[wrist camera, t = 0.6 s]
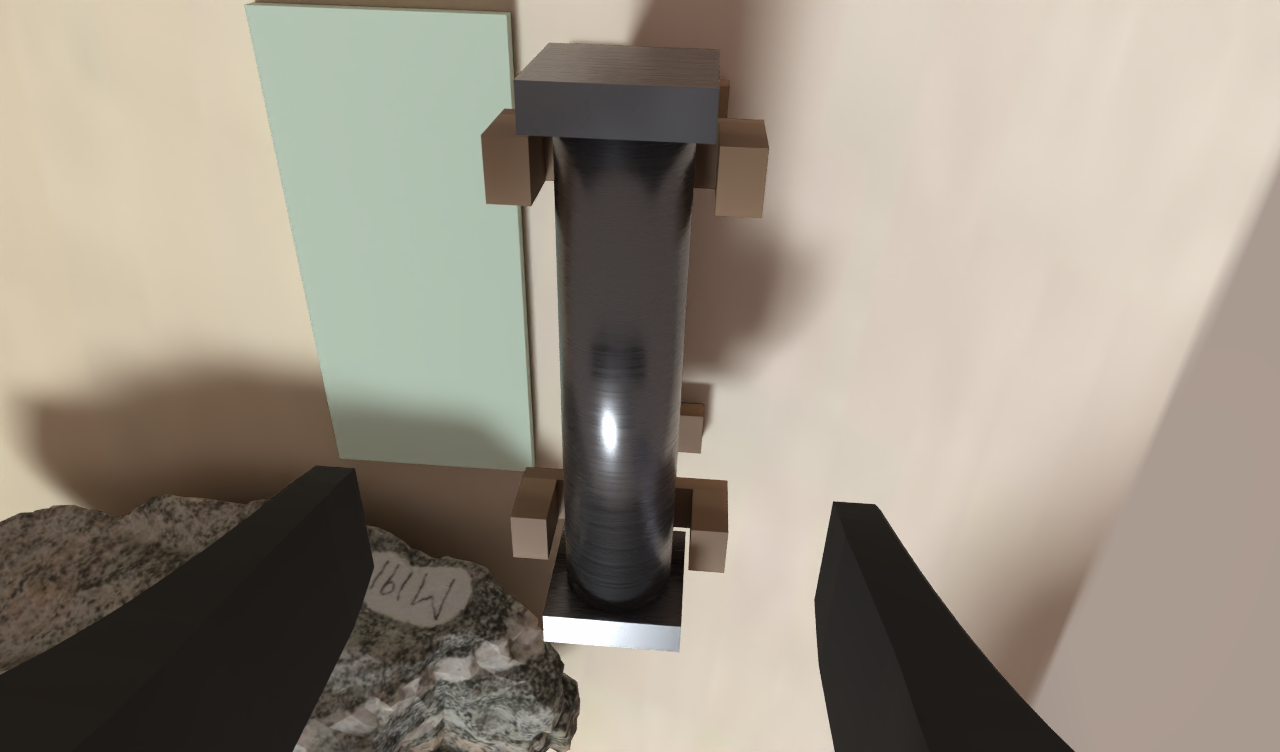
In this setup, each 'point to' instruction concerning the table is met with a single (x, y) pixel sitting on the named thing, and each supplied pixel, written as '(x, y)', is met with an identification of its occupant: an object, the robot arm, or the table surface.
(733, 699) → the table surface
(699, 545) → the rail stand
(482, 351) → the mat
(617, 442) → the column with square cap
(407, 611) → the rock
